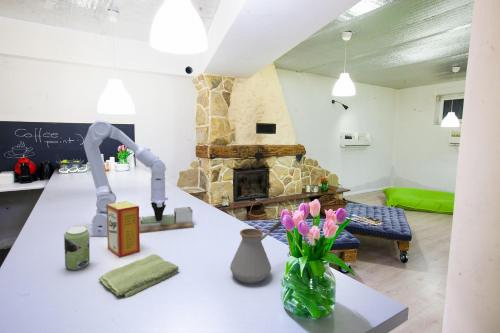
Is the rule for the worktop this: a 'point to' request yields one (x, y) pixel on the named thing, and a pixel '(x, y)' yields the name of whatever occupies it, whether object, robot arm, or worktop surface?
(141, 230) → the board
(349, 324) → the worktop surface
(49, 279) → the worktop surface
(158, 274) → the washcloth
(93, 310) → the worktop surface
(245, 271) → the coffee pot
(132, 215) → the baking soda box
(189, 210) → the end caps
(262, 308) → the worktop surface
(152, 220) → the green long rectangular block
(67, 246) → the beverage can
